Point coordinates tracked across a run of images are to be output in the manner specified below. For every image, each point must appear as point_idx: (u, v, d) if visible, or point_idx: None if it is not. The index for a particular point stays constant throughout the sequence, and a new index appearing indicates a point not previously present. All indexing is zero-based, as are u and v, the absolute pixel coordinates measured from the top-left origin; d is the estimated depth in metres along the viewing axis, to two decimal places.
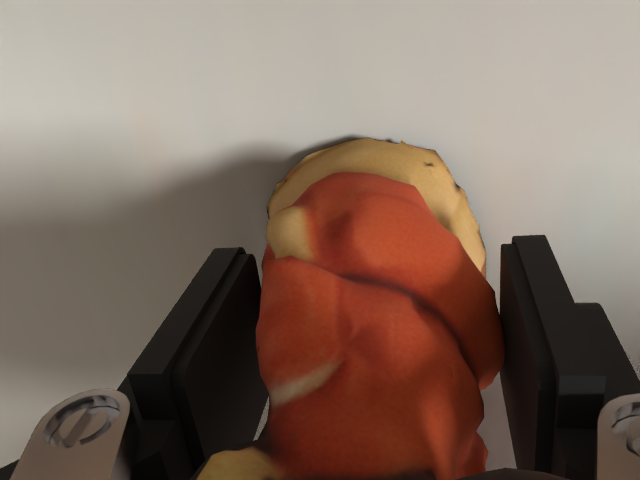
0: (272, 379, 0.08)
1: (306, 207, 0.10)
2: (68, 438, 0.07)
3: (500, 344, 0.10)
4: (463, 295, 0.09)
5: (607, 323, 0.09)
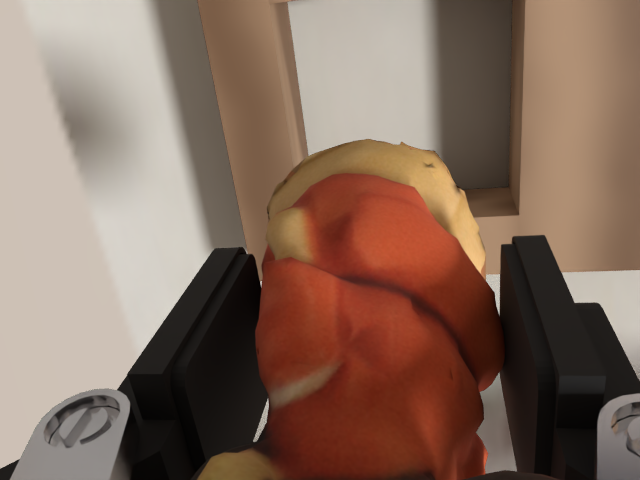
0: (272, 381, 0.08)
1: (306, 208, 0.10)
2: (68, 438, 0.07)
3: (500, 345, 0.10)
4: (463, 296, 0.09)
5: (607, 323, 0.09)
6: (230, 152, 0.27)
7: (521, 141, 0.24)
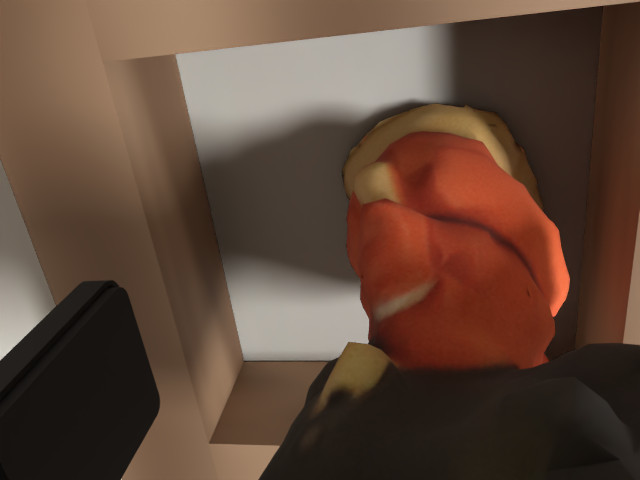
0: (378, 298, 0.09)
1: (389, 162, 0.11)
2: None
3: (564, 277, 0.11)
4: (532, 231, 0.11)
5: None
6: None
7: (623, 333, 0.12)
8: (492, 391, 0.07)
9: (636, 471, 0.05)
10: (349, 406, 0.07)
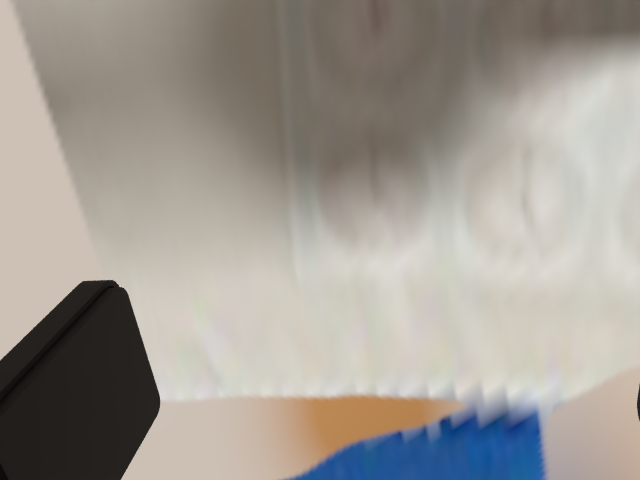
0: None
1: None
2: None
3: None
4: None
5: None
6: None
7: None
8: None
9: None
10: None
